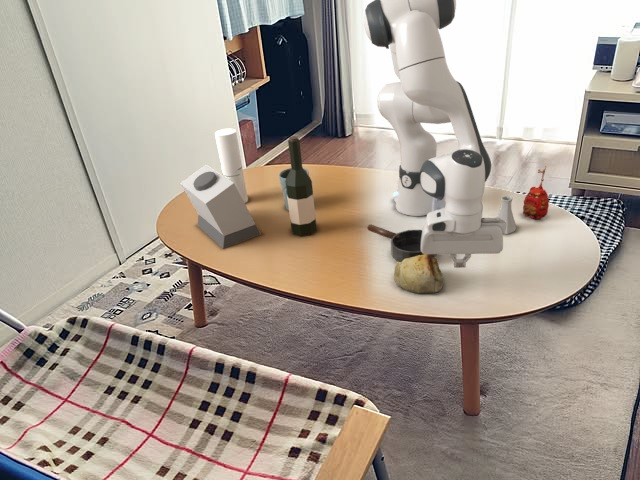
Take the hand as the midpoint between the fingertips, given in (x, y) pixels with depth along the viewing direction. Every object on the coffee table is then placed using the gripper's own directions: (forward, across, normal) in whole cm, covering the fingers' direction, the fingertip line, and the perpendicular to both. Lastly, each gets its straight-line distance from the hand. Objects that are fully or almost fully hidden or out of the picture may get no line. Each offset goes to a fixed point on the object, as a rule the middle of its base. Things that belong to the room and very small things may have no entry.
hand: (459, 266), depth 145 cm
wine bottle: (+5, +46, -30) cm, 56 cm away
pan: (+5, +12, -15) cm, 19 cm away
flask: (+5, -15, -30) cm, 34 cm away
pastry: (+5, +10, 0) cm, 12 cm away
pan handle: (+3, +21, -22) cm, 30 cm away
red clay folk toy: (+6, -26, -38) cm, 46 cm away
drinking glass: (+5, +51, -48) cm, 71 cm away
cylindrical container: (+5, +74, -54) cm, 91 cm away
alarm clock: (+5, +73, -31) cm, 79 cm away
